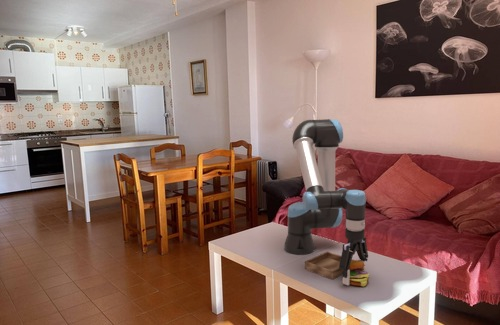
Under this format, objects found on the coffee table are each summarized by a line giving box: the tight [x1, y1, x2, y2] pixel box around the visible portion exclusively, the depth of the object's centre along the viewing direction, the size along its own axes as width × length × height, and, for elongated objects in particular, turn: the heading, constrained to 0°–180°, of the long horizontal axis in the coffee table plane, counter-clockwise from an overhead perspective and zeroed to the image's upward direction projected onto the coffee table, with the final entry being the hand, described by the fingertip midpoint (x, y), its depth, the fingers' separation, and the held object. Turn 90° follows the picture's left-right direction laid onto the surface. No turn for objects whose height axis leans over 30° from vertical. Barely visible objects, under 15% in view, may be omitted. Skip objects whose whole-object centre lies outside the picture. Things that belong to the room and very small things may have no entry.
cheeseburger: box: [342, 259, 370, 287], centre depth 156 cm, size 10×11×10 cm
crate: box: [304, 251, 343, 280], centre depth 169 cm, size 15×17×3 cm
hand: (353, 279), depth 157 cm, fingers closed on cheeseburger, 11 cm apart
